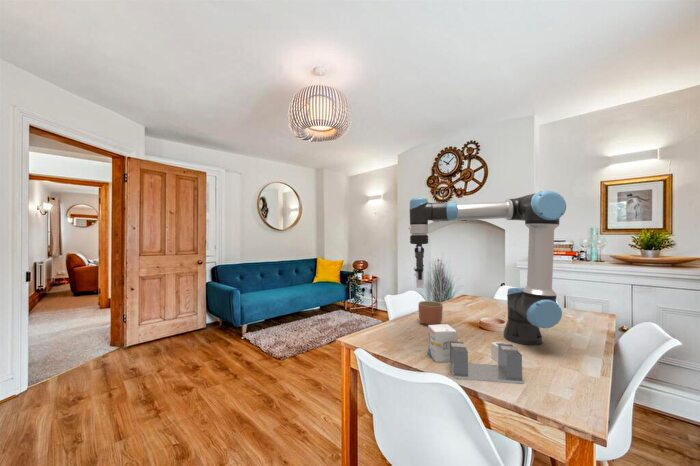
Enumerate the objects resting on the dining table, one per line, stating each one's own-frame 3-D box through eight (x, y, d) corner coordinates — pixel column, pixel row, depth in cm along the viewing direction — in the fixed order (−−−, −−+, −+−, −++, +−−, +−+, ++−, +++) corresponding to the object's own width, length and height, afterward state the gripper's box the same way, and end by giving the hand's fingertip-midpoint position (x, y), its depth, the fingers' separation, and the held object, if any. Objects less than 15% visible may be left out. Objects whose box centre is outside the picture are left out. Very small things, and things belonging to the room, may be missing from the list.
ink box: (427, 353, 118) (427, 324, 118) (448, 352, 118) (447, 323, 118) (435, 362, 109) (435, 331, 109) (457, 361, 110) (457, 330, 110)
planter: (445, 327, 149) (445, 306, 149) (421, 327, 149) (421, 306, 149) (438, 320, 161) (438, 300, 161) (416, 320, 161) (416, 300, 161)
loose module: (502, 357, 113) (502, 340, 113) (515, 365, 107) (515, 347, 107) (491, 358, 113) (491, 341, 113) (503, 366, 106) (503, 348, 106)
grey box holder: (511, 368, 104) (511, 342, 104) (523, 383, 93) (523, 355, 93) (449, 363, 108) (449, 338, 108) (454, 378, 97) (454, 350, 97)
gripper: (410, 234, 137) (411, 279, 137) (409, 235, 113) (410, 290, 113) (426, 234, 135) (427, 280, 135) (429, 234, 111) (430, 290, 111)
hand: (419, 284), depth 124 cm, fingers open, 13 cm apart
